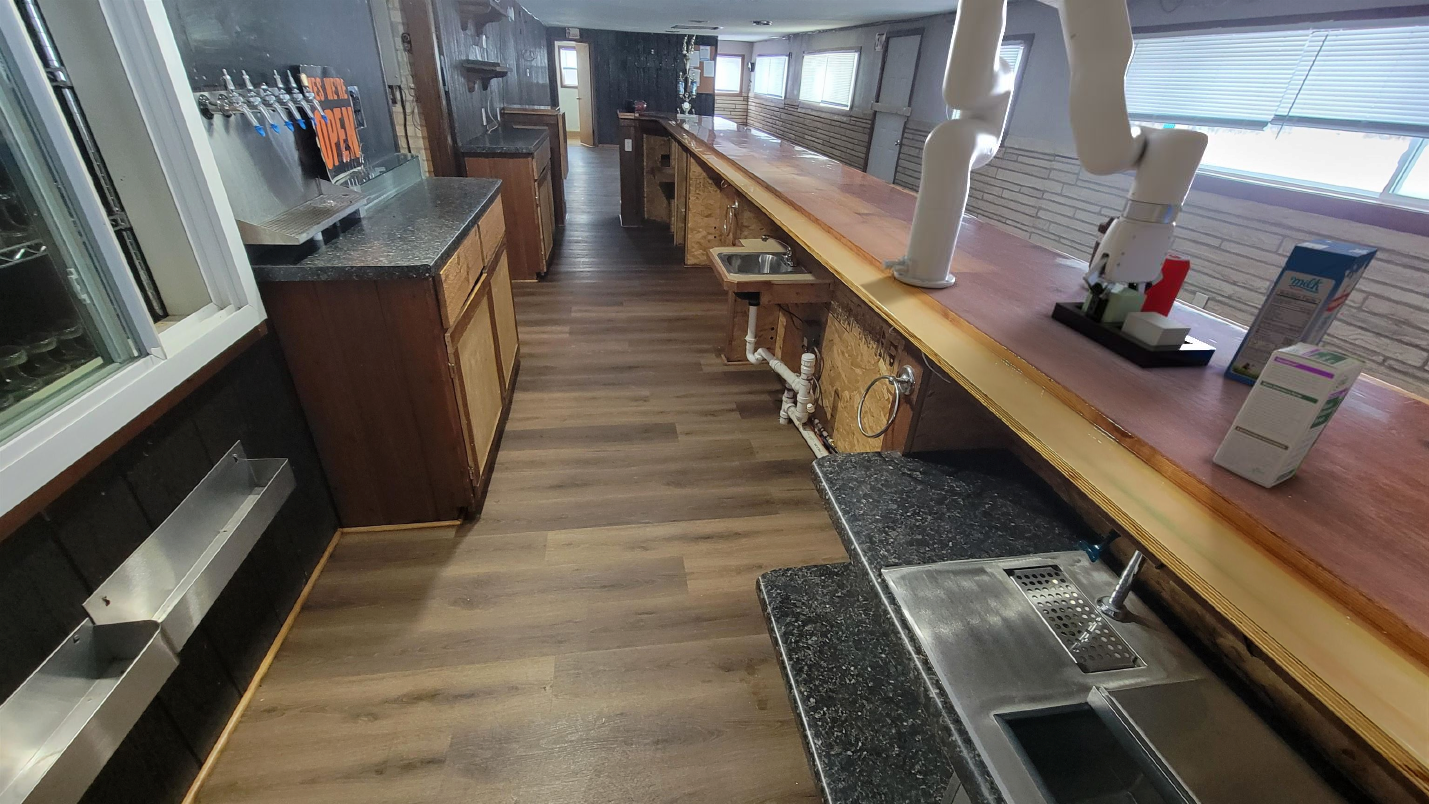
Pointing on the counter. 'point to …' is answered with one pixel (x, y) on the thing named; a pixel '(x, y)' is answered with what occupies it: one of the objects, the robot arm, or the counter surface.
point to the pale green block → (1119, 303)
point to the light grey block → (1155, 328)
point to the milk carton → (1300, 303)
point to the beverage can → (1167, 284)
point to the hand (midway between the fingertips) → (1107, 316)
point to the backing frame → (1131, 340)
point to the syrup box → (1287, 412)
